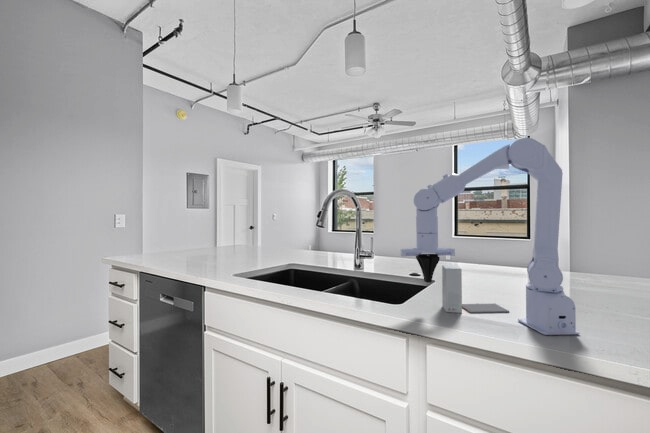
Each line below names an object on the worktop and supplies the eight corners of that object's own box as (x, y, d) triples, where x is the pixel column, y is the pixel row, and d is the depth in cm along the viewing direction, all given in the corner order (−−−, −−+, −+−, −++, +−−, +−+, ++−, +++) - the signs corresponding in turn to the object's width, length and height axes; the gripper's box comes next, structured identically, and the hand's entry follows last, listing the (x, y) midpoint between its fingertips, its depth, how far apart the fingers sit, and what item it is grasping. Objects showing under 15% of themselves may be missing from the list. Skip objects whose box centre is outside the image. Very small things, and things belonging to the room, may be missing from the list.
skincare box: (462, 313, 84) (462, 268, 83) (445, 312, 84) (445, 268, 84) (457, 306, 89) (457, 265, 89) (442, 306, 90) (441, 264, 90)
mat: (509, 312, 83) (509, 311, 83) (470, 313, 83) (470, 311, 83) (494, 304, 90) (494, 303, 90) (458, 305, 90) (458, 304, 90)
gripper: (447, 231, 91) (447, 278, 91) (397, 232, 91) (398, 279, 91) (457, 233, 84) (458, 283, 84) (404, 234, 84) (404, 284, 84)
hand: (427, 281), depth 87 cm, fingers closed
